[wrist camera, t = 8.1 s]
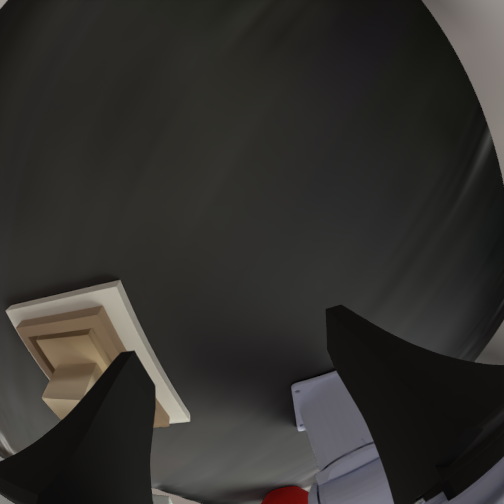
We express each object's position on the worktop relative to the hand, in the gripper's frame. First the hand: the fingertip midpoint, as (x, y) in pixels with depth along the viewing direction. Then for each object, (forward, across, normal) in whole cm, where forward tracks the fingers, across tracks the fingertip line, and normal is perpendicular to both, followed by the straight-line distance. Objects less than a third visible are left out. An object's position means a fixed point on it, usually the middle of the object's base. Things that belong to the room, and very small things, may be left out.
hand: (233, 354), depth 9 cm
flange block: (+8, +14, +8) cm, 18 cm away
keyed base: (+9, +14, +8) cm, 19 cm away
